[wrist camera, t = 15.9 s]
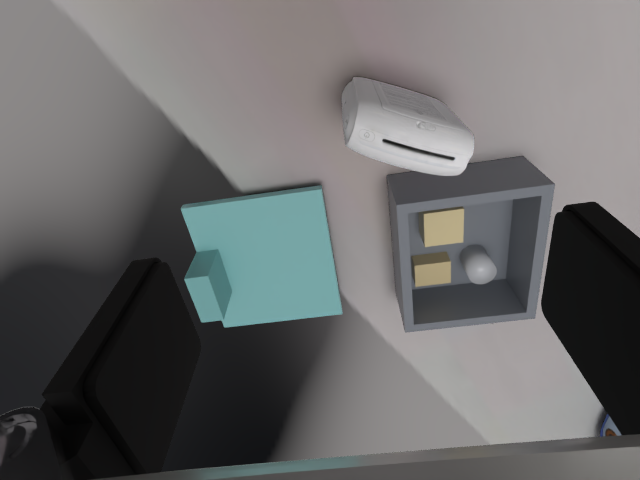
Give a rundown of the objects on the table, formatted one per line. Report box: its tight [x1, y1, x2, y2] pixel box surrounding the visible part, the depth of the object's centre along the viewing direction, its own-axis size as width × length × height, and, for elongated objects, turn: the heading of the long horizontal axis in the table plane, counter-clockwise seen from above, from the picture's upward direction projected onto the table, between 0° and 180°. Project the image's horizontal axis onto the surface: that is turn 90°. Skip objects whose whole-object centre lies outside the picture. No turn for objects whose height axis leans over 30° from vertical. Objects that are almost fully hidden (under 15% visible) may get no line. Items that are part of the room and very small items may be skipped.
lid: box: [181, 185, 342, 327], centre depth 47 cm, size 17×15×8 cm
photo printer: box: [341, 77, 474, 176], centre depth 36 cm, size 10×4×12 cm, turn 75°
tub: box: [387, 156, 555, 332], centre depth 45 cm, size 16×14×7 cm
